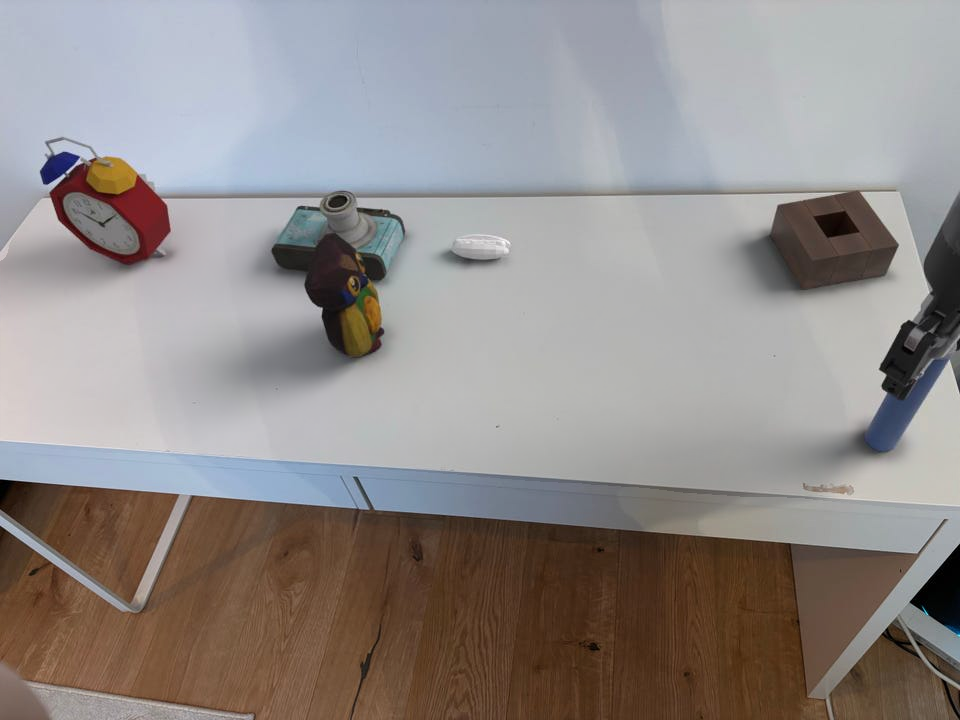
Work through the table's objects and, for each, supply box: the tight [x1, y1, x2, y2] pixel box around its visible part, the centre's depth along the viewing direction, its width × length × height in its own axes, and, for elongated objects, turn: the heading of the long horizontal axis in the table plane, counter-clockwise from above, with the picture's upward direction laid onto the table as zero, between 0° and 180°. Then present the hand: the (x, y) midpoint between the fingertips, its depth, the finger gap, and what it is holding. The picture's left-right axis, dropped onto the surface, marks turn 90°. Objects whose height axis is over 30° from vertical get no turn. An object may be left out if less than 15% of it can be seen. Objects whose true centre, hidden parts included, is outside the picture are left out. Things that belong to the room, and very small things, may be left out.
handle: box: [864, 338, 957, 453], centre depth 69 cm, size 3×3×16 cm
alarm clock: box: [39, 136, 172, 265], centre depth 102 cm, size 15×9×20 cm, turn 72°
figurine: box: [303, 232, 385, 358], centre depth 86 cm, size 10×7×15 cm
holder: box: [769, 190, 900, 290], centre depth 90 cm, size 10×10×5 cm
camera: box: [270, 190, 406, 280], centre depth 100 cm, size 16×10×10 cm
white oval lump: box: [451, 233, 511, 261], centre depth 99 cm, size 3×8×3 cm, turn 79°
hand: (921, 367), depth 66 cm, fingers open, 8 cm apart
